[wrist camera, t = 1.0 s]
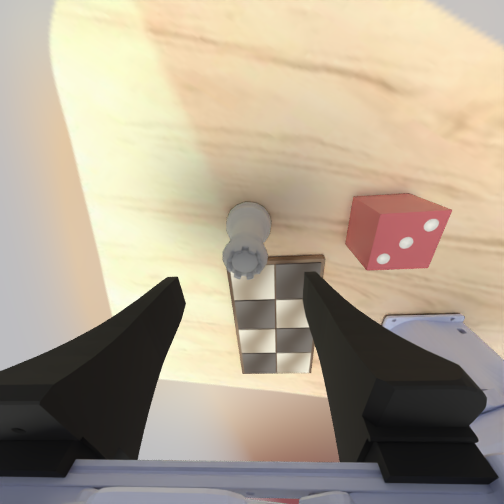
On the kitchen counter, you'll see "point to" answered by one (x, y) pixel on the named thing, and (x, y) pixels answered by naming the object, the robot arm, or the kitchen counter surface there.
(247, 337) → the game board
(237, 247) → the rook chess piece
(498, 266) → the kitchen counter surface
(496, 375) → the robot arm
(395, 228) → the die
